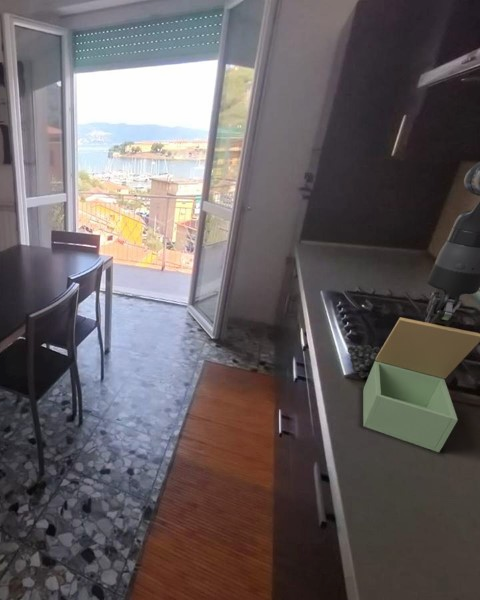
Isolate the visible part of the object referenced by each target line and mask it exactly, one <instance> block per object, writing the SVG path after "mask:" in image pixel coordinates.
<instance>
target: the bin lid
mask: <svg viewBox="0 0 480 600" xmlns="http://www.w3.org/2000/svg"><path fill="white" fill-rule="evenodd" d="M479 343H480V333H478V332H474V331H470V330H464V329H460V328H455V327H451V326H448V327H445V326H440V325H436V324H431V323H426V322H425V321H421V320H417V319H412V318H411V319H410V318H406V317H402V316H401V317H399V318H398V320H397V322H396V323H395V325H394V326H393V328H392V330H391V331H390V333H389V335H388V336H387V338H386V339H385V342H384V343H383V345H382V346H381V347H380V349H381V350H380V352H379V353H378V355H377V357H376V359H375V360H376V361H379V362H383V363H387V364H391V365H393V366H396V367H400V368H403V369H407V370H411V371H415V372H419V373H423V374H426V375H430V376H434V377H438V378H442V379H444V380H445V379H446V378H447V377H448V376H449V375H450V374H452V372H453V371H454V370H455V369H456V368H457V367H458V366H459V364H460V363H462V361H463V360H464V359H465V358H466V357H467V356H468V355H469V354H470V353H471V352H472V351H473V350H474V349H475V348H476V346H477V345H479Z"/></svg>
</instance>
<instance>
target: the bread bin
mask: <svg viewBox="0 0 480 600" xmlns="http://www.w3.org/2000/svg"><path fill="white" fill-rule="evenodd" d="M362 393H363V394H362V403H363V404H362V408H363V409H362V412H363V413H362V416H363V417H362V420H363V421H362V422H363V424H362V426H363V427H364V428H367V429H369V430H373V431H375V432H379V433H381V434H383V435H386V436H390V437H392V438H396V439H398V440H401V441H404V442H408V443H410V444H413V445H416V446H419V447H422V448H425V449H427V450H431V451H433V452H436V453H441V450H442V448H443V447H444V445H445V444H446V442H447V440H448V439H449V436H450V435H451V433H452V431H453V430H454V428H455V426H456V424H457V423H458V420H459V419H458V416H457V413H456V410H455V407H454V404H453V402H452V398H451V395H450V392H449V388H448V386H447V383H446V380H445V379H444V378H440V377H437V376H433V375H429V374H425V373H421V372H418V371H414V370H410V369H406V368H402V367H398V366H395V365H393V366H392V365H388V364H384V363H381V362H377V361H375V362H374V364H373V367H372V369H371V372H370V374H369V376H368V379H367V378H366V381H365V384H364V386H363V389H362Z"/></svg>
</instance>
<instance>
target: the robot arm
mask: <svg viewBox="0 0 480 600" xmlns="http://www.w3.org/2000/svg"><path fill="white" fill-rule="evenodd" d="M463 186H464V188H465V190H466V191H468V193H470V194H472V195H475V196H478V197H480V161H478V162H477V163H475V164H474V165H473V166H472V167H471V168H470V169H469V170H468V171H467V172H466V174H465V175H464V178H463ZM426 282H427V284H428V285H429V286H431V287H432V288H434V289H436V291H432V292H431V293H430V294H429V299H428V304H427V307H426V311H425V313H424V317H425V319H424V322H426V323H431V324H436V325H440V326H445V327H450V325H451V324H452V323H453V322H454V321H455V320H456V319H457V318H458V313H457V312H456V310H458V309H459V308H460V306H461V304H462V300H460V299H461V296H462V295H473V294H476V293H478V292H479V291H480V200H479V201H478V202H477V204H476V205H475V206H474V208H473V209H472V210H466V211H463V212H461V213H460V214H458V216H457V217H456V219H455V220H454V223H453V225H452V227H451V229H450V231H449V234H448V236H447V238H446V241H445V242H444V244H443V245H442V246H441V249H440V250H439V252H438V255H437V256H436V258H435V261H434V264H433V266H432V268H431V271H430V272H429V275H428V277H427V280H426Z"/></svg>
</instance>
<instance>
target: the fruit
mask: <svg viewBox="0 0 480 600" xmlns="http://www.w3.org/2000/svg"><path fill="white" fill-rule="evenodd" d="M380 350H381V347H379V346H374V347H372V346H371V345H370V344H364V345H362V344H359V345H353V346H349V347H348V348H347V353H348V354H350V356H349V357H350V363H351V368H352V370H353V371H354V373H355V374H356V375H358V376H359V377H360V378H361V379H366V380H367V379H368V376H369V374H370V372H371V369H372V367H373V364H374V362H375V361H376V360H375V359H376V357H377V355H378V353H379V352H380ZM377 362H379V361H377ZM381 363H383V362H381ZM384 364H387V363H384ZM388 365H391V364H388ZM392 366H394V365H392ZM358 372H359V373H358Z"/></svg>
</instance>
